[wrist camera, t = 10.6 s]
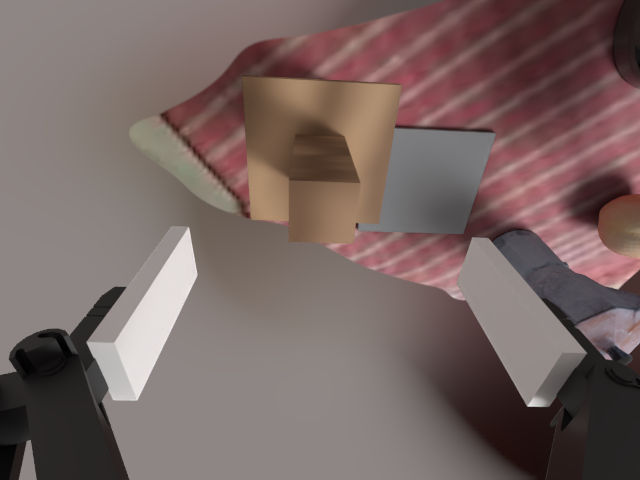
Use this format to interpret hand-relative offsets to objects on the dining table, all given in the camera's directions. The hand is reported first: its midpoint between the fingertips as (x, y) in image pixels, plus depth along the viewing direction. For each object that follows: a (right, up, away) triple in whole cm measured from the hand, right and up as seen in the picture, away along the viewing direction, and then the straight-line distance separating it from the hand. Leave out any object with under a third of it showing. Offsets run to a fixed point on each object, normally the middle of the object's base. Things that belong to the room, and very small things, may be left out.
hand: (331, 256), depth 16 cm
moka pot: (+28, -2, +34) cm, 44 cm away
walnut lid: (-1, +8, +13) cm, 15 cm away
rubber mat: (+13, +8, +28) cm, 31 cm away
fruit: (+40, +5, +31) cm, 51 cm away
